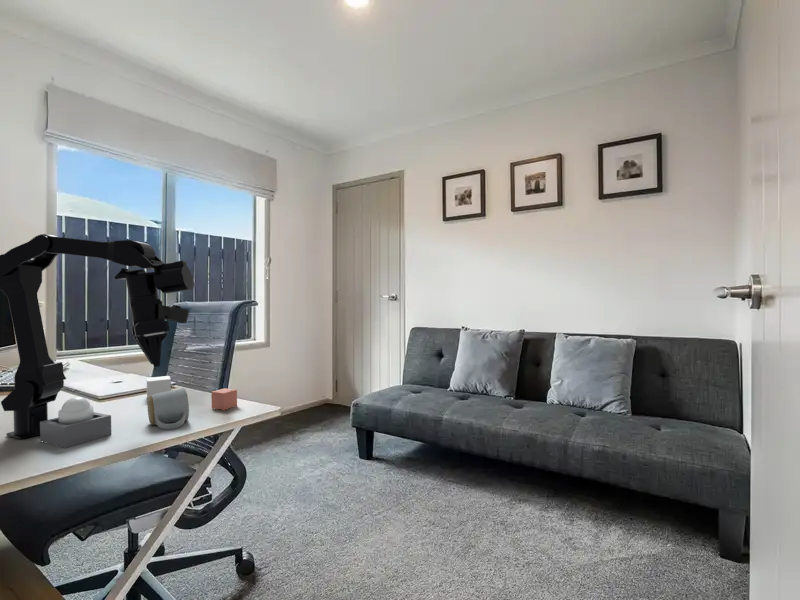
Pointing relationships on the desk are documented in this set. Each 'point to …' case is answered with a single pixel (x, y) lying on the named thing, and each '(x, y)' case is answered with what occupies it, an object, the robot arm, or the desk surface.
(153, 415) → the ceramic mug
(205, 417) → the desk surface
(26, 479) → the desk surface
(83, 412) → the dome
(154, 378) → the white cube
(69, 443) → the dome base
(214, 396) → the salmon red block
